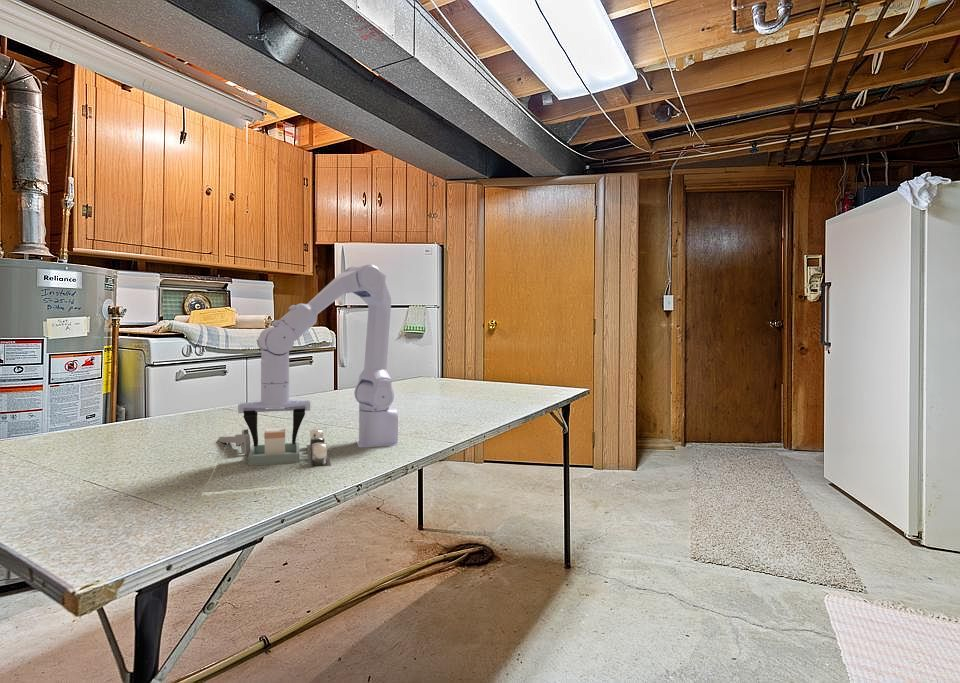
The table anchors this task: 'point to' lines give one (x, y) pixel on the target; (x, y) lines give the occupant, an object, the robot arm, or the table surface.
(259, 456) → the tray
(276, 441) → the beige and orange block
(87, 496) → the table surface
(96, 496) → the table surface
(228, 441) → the caliper
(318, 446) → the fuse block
